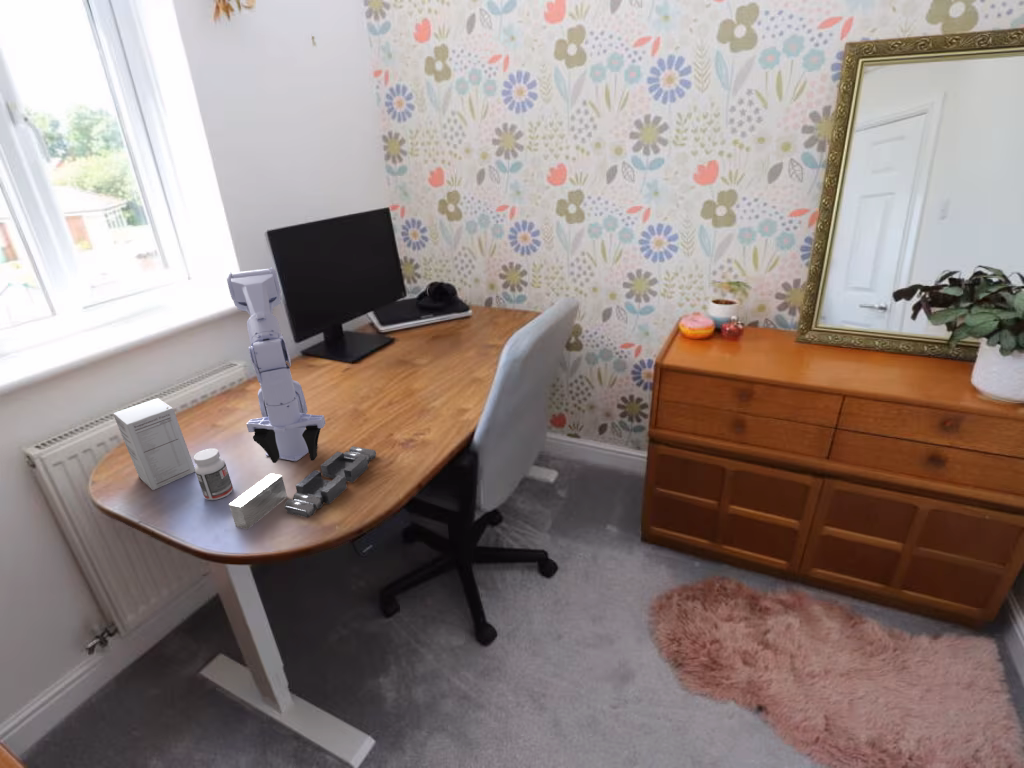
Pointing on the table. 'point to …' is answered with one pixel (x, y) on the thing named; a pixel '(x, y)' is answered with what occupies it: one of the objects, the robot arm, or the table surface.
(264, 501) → the pale grey rectangular prism
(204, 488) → the pill bottle
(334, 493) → the chain end
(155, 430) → the supplement box
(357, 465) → the chain end
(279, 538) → the table surface
